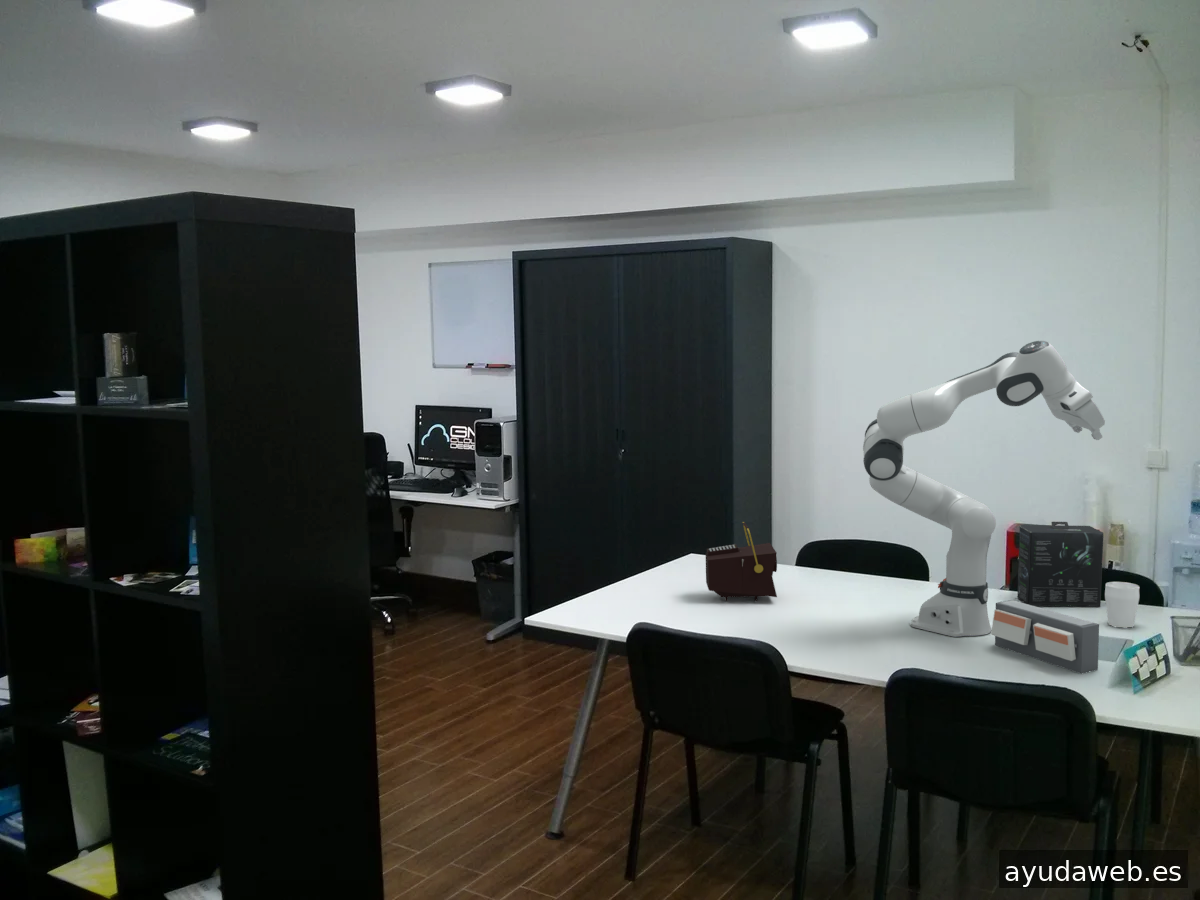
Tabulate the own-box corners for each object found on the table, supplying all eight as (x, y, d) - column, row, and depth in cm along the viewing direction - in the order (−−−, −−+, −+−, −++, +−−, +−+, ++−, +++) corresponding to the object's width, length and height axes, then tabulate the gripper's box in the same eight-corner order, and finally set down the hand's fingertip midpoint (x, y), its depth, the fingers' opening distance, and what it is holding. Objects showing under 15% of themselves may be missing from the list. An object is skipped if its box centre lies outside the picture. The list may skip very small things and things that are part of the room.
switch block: (1081, 673, 259) (1082, 626, 258) (994, 645, 284) (995, 602, 283) (1113, 665, 264) (1115, 619, 263) (1025, 638, 289) (1026, 596, 288)
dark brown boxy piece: (781, 604, 332) (780, 528, 329) (709, 606, 332) (708, 530, 330) (773, 591, 348) (773, 519, 345) (705, 593, 349) (704, 521, 346)
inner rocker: (1023, 645, 271) (1027, 619, 271) (989, 634, 281) (993, 609, 281) (1030, 645, 272) (1034, 619, 272) (996, 634, 282) (999, 609, 282)
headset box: (1088, 597, 330) (1090, 518, 327) (1102, 607, 318) (1104, 525, 315) (1015, 597, 332) (1017, 519, 329) (1027, 607, 321) (1029, 526, 318)
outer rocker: (1071, 661, 259) (1069, 636, 258) (1034, 649, 269) (1031, 624, 268) (1078, 658, 260) (1076, 632, 259) (1041, 646, 270) (1038, 621, 269)
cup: (1119, 631, 294) (1121, 590, 292) (1096, 622, 302) (1097, 583, 301) (1145, 628, 296) (1147, 587, 295) (1122, 619, 305) (1123, 580, 303)
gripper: (1033, 394, 278) (1058, 433, 281) (1073, 408, 258) (1100, 450, 261) (1052, 380, 277) (1077, 420, 281) (1094, 393, 258) (1120, 435, 261)
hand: (1088, 434), depth 271 cm, fingers open, 8 cm apart
